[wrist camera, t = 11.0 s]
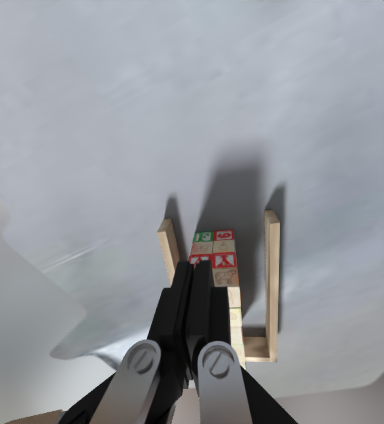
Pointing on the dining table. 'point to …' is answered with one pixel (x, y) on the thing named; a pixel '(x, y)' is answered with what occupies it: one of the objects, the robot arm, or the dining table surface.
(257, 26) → the dining table surface
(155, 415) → the robot arm
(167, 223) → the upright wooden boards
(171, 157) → the dining table surface
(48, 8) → the dining table surface
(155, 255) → the dining table surface
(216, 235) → the stack of blocks
